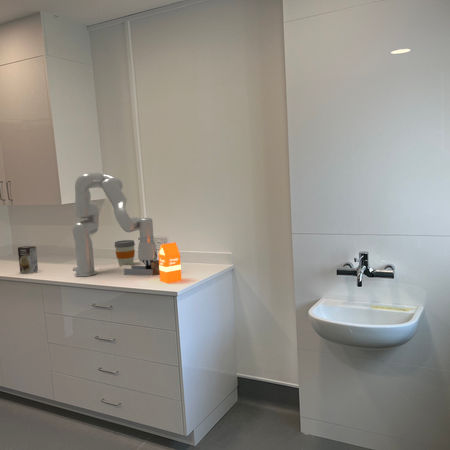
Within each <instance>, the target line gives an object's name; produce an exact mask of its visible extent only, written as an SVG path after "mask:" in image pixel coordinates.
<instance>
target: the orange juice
mask: <svg viewBox="0 0 450 450" xmlns="http://www.w3.org/2000/svg"><path fill="white" fill-rule="evenodd" d="M179 250H180V249H179V248H178V245H177V244H176V242H170V243H162V244H161V245H160V248H159V252H158V260H159V270H160V275H159V279H160V280H159V281H160V283H161V282H162V283H165V284H171V283H176V282H180V281H181V282H182V280H183V279H182V265H181V264H182V263H181V253H180V251H179Z"/></svg>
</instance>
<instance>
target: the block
mask: <svg viewBox="0 0 450 450" xmlns="http://www.w3.org/2000/svg"><path fill="white" fill-rule="evenodd" d="M151 269H153V275H152V276H155V275H156V276H160V270H159V259H157V261H156V262H154V261H153V262H151Z"/></svg>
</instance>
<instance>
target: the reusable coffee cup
mask: <svg viewBox="0 0 450 450" xmlns="http://www.w3.org/2000/svg"><path fill="white" fill-rule="evenodd" d="M135 245H136V244H135V240H132V239H125V240H124V239H123V240H116V241H115V242H114V248H115V256H116V259H117V262H118V266H119V267H123V266H134V262H135V261H134V257H135V250H136V249H135Z"/></svg>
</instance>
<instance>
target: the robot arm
mask: <svg viewBox="0 0 450 450" xmlns="http://www.w3.org/2000/svg"><path fill="white" fill-rule="evenodd" d="M74 182H75V183H74V194H75V195H74V214H75V216H76V218H78V219H80V221H77V222H75V223H74V224H73V226H72V228H71V230H72V235H73V239H74V245H75V256H76V267H75V266H74V267H73V269H72V271H73V272H75V273H74V275H75V277H79V278H81V277H90V276H95V275H97V274H98V271H97V270H95V259H94V258H95V257H94V248H93V242H92V239H91V236H93V235H95V234H97V232H98V230H99V224H100V223H99V219H100V211H99V206H98V205H97V203H96V202H94V201H92V200H91V199H92V197H91V191H90V189H94V188H100V189H102V190H103V192H104V195H106V197H107V199H108V201H109V202H110V203H111V205H112V206H113V213H114V216H115V219H116V222H117V224H118V225H119V226H120V228H121V229H122V230H123V231H124V232H125V233H133V232H136V231H139V237H137V238H138V241H139V242H138V248H137V254H138V255H137V258H138V260H139V262H141V263H143V264H144V266H146V269H151V262H153V261H154V262H156V261H157V260H158V252H157V251H158V250H157V245H156V242H155V241H154V240H155V238H154V223H153V218H152V217H137V216H136V217H130V216H129V214H128V212H127V209H126V205H127V202H128V201H127V200H128V199H127V197H126V196H125V194H124V193H123V191H122V190H123V187H124V185H123V182H122V180H121V179H120V178H118V177H116V176H111V175H108V174H105V173H100V172H86V173H83V174H81V175H80V176H78V177H77V178H76V180H75V181H74ZM81 219H83V220H81Z"/></svg>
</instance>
